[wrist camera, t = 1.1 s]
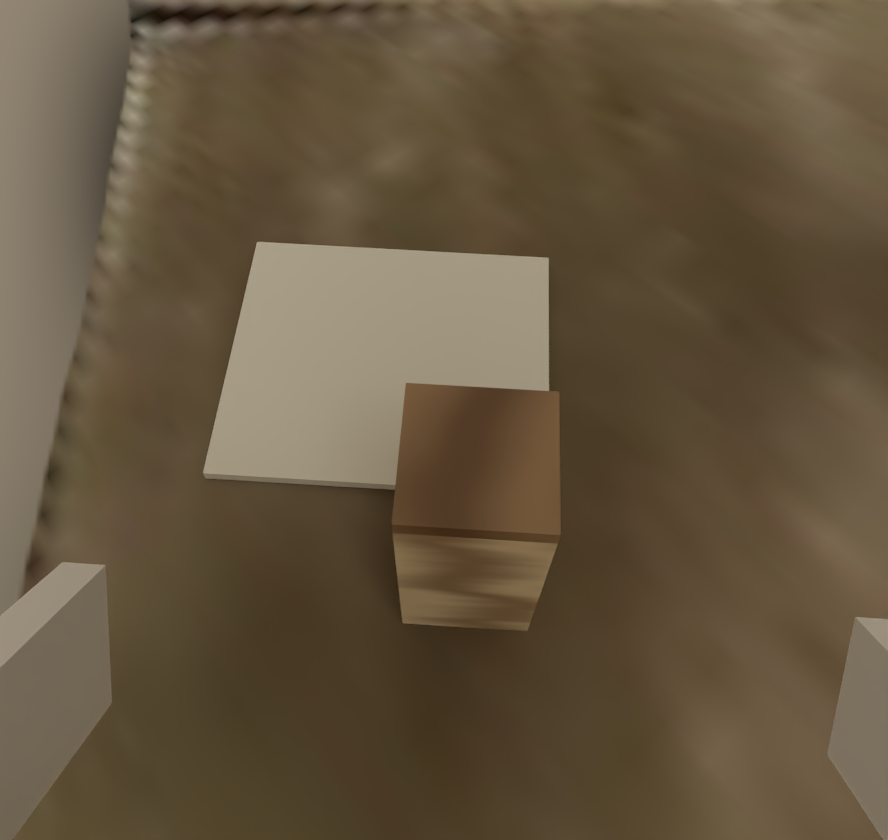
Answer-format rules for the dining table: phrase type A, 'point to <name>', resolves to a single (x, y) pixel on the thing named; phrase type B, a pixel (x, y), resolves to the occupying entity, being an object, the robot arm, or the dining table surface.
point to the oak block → (476, 504)
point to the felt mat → (366, 354)
